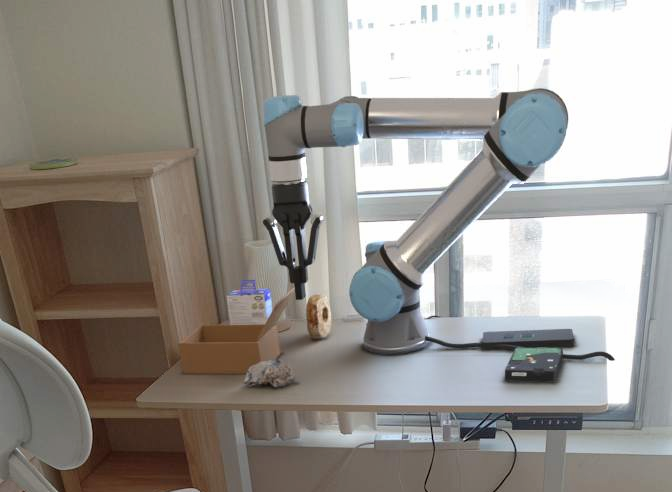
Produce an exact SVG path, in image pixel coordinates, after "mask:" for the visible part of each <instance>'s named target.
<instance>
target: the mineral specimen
mask: <svg viewBox="0 0 672 492" xmlns="http://www.w3.org/2000/svg"><path fill="white" fill-rule="evenodd" d="M295 382H296V381H295V375H294V374H293V371H292V368H291V367H289V366H288V365H286V364H284V363H283V362H282V361H281V359H278V358H276V359H274V360H269V361H264V362H259V363H258V364H256V365H253V366H251V367H250V368H249V369H248V372H247V374H245V377H244V379H243V384H244V385H248V387H253V386H254V385H260V386H261V385H262V384H263V385H265V386H266V385H267V384H270V385H271V386H272V387H273V388H280V387H281V388H283V387H285V386H289V385H291V384H293V383H295Z"/></svg>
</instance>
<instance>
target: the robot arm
mask: <svg viewBox="0 0 672 492" xmlns="http://www.w3.org/2000/svg"><path fill="white" fill-rule="evenodd" d="M300 97H301V96H298V95H296V94H291V95H290V94H288V95H276V96H271V97H268V98H266V99H265V100H264V102H263V121H264V123H263V126H264V132H265V133H264V134H265V140H266V147H267V148H266V149H267V155H268V157H267V158H268V166H269V167H268V168H269V176H270V181H271V182H272V184H271V195H272V204H273V207H272V210H271V214H269V216H268V217H266V218H265V219H263V220H262V224H263V226H264V227H265V229H266V230H267V232H268V235H269V237H270V240H271V243H272V246H273V248H274V252H275V255H276V259H277V262H278V264H279V266H282V267H286V268H287V270H288V279H289V282H290V283H289V284H293V288H294V287H295V291H294V297H295V301H303V300H304V299H305V298H306V285H305V284H306V283H308V281H309V273H308V266H310V265H312V264H313V263H315V261H316V258H317V257H316V256H317V250H318V243H319V235H320V227H321V225H322V223H323V222H324V215H322V214H320V215H319V214H317V213H316V212H314V211H313V207H312V205H311V203H310V193H309V182H308V181H307V180H306V179H307V178H308V172H307V160H306V149H313V148H315V149H316V148H337V147H338V148H339V147H341V148H346V147H349V146H351V147H352V146H358V145H360V143H361V142H362V141H363V140H367V139H369V140H370V139H386V140H387V139H388V140H443V141H444V140H446V141H447V140H451V141H482V145H481V146H482V148H481V150H480V151H479V152H478V153H477V154H476V155H475V157H474V158H473V159H472V160H471V161H469V162H468V164H467V165H465V167H464V168H463V169H462V170H461V171H460V172H459V173H458V175H457V176H456V177H455V178H453V180H452V181H451V182H450V183H449V185H447V186H446V188H444V189H443V191H441V193H440V194H439V195H437V197H436V198H435V199H434V201H433V202H432V203H431V204H430V205H428V207H427V208H426V209H425V210H424V211H423V212H422V213H421V214H420V215H419V216H418V217H417V218H416V219H415V221H414V222H413V223H412V224H411V225H410V226H409V227H408V228H407V229H406V230H405V232H403V233H402V235H400V236H399V238H398V239H397V240H381V241H374V242H373V241H372V242H369V243H367V244H366V245H365V253H364V257H365V263H364V264H363V265H362V266H361V267H360V268H359V269H358V270H357V271H356V272H355V273H354V274H353V275H352V279H351V280H350V284H349V292H348V294H349V300H350V304H352V305H351V306H352V307H353V309H354V310H355V312H356V313H357V314H358V315H359V316H361V317H362V318H364V319H365V320H367V322H366V324H365V325H366V326H365V329H364V335H363V348H364V349H365V350H366V351H368V352H370V353H375V354H380V355H400V354H408V353H412V352H416V351H419V350H422V349H424V348H426V347H427V346H428V345H429V343H430V342H431V343H434V344H437V345H440V346H442V347H445V348H451V349H469V348H470V349H471V348H483V342H469V343H451V342H446V341H445V340H442V339H437V338H435V337H432V336H430V334H429V330H428V327H427V325H426V321H425V318H424V316H423V313H422V309H421V294H420V290H421V289H420V288H422V286H423V285H425V283H426V272H427V271H428V270H429V269H430V268H431V267H432V266H433V265H434V264H435V263H436V262H437V261H438V260H439V259H440V258H441V257H442V256H443V254H445V253H446V252H447V251H448V249H450V248H451V247H452V245H453V244H455V242H456V241H458V239H459V238H460V237H461V236H463V234H464V233H465V232H466V231H467V230H468V229H469V228H470V227H471V226H473V224H474V223H475V222H476V221H477V220H478V219H479V218H480V217H481V216H482V215H483V214H484V213H485V212H486V211H487V210H488V209H489V208H490V207H491V206H492V205H493V204H494V203H495V202H496V201H497V200H498V199H499V197H501V195H503V194H504V192H505V191H506V190H508V188H509V187H510V186H511V185H515V184H524V183H525V182H527V181H528V180H529V179H530V177H532V175H534V173H536V172H537V171H538V169H540V168H541V167H542V165H544V164H546V163H547V162H550V161H551V159H553V158H554V157H555V155H556V154H557V153H558V152H559V151H560V149H561V147H562V146H563V144H564V141H565V138H566V135H567V131H568V130H567V129H568V127H569V126H568V125H569V112H568V108H567V105H566V103H565V101H564V100H563V98H562V97H561V96H560V95H559V94H558V93H556V92H555V91H553V90H551V89H548V88H542V87H541V88H533V89H528V90H520V91H501V92H499V93H498V94H497V95H496V96H495V97H359V96H355V95H349V96H343V97H341V98H340V99H337V100H336V101H333V102H331V103H327V104H320V105H303V104H302V102H301V98H300ZM309 220H310V224H311V228H310V234H309V240H308V249H307V244H306V225H307V223H308V222H309ZM277 223H278V224H279V225H280V227H281V228H282V234H283V236H284V245H283V242H282V241H283V240H282V239H281V238H282V237H281V235H280V232H279V229H278V226H277ZM294 234H295V239H296V250H297V251H296V250H295V239H294ZM284 246H285V248H284ZM296 252H297V259H298V262H297V260H296ZM297 264H298V265H297ZM495 347H496V348H502V349H501V350H510V351H514V350H515V349H517V348H518V347H519V346H513V345H505V344H497V345H495ZM520 348H525V347H520ZM595 357H596V358H597V357H603V358H605V359H607V360H608V361H611V362H612V361H613V362H614V361H616V358H615V357H614V356H613V355H612V354H611V353H608V352H605V351H594V352H593V351H592V352H589V353H584V354H566V353H563V359H562V360H576V361H577V360H579V361H580V360H587V359H591V358H595Z"/></svg>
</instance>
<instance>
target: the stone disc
mask: <svg viewBox="0 0 672 492" xmlns="http://www.w3.org/2000/svg"><path fill="white" fill-rule="evenodd" d="M305 311H306V316H305V317H306V328H307V332H308V334H309V337H310V338H311V339H313V340H321V339H325V338H326V337H328V335H329V333H330V331H331V329H332V312H331V307H330V303H329V300H328V297H327V296H326V295H323V294H313V295H310V296H309V298H308V299H307V302H306V309H305Z"/></svg>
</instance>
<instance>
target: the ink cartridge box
mask: <svg viewBox="0 0 672 492" xmlns="http://www.w3.org/2000/svg"><path fill="white" fill-rule="evenodd" d="M240 283H241V284H240V289H236V290H235V289H234V290H231V291H230V292H229V293H227V295H226V297H225V298H226V304H227V310H228V311H227V312H228V319H229V325H241V324H266V322H267V320H268V318H269V316H270V314H271V312H272V310H273V301H272V293H271V289H270V288H257V284H256V283H257V279H242V280H241V282H240ZM246 284H252V285H251V286H249V285H246ZM244 285H246V286H244Z"/></svg>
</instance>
